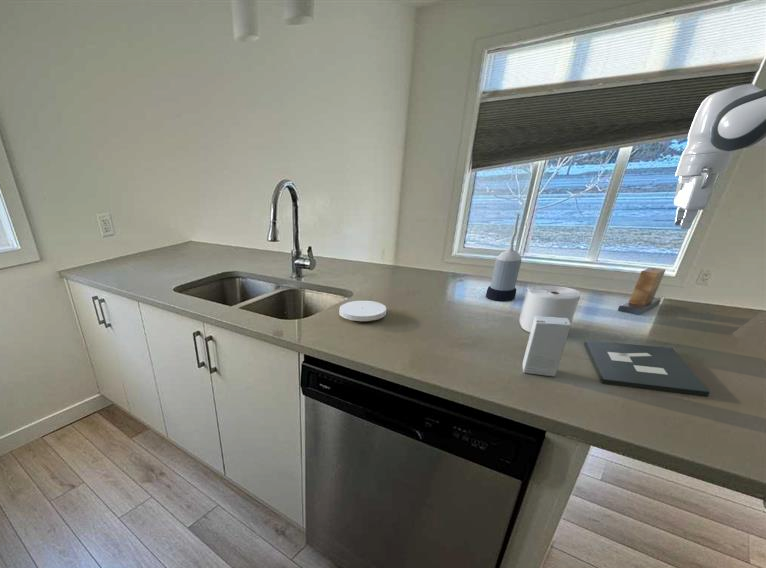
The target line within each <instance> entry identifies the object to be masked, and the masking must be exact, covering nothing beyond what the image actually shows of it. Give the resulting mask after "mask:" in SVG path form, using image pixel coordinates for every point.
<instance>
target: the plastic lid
mask: <svg viewBox="0 0 766 568" xmlns="http://www.w3.org/2000/svg"><path fill="white" fill-rule="evenodd" d="M338 314H339V316H340V317H342V318H344V319H346V320H349V321H355V322H371V321H376V320H380V319H382V318H384V317H385V316H386V315H387V306H386V305H385V304H383V303H381V302H378V301H373V300H354V301H353V300H352V301H347V302H345V303H343V304H341V305H340V306H339V311H338Z"/></svg>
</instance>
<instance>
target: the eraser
mask: <svg viewBox="0 0 766 568" xmlns="http://www.w3.org/2000/svg"><path fill="white" fill-rule="evenodd" d="M665 273H666V268H657V267H650V266H649V267H647V268H646V269H642V270H641V271H640V274H639V277H638V279H637V281H636V284H635V285H634V289H633V291H632V294H631V296H630V298H629V300H627V301H626V302H623V303H622V304H620V305H619V306H618V308H617V311H618V312H624V313H628V314H632V315H637V316H641V315H642V314H645V313H646V312H648V311H650V310H651V309H653V308H654V307H657V306H658V305H660V303H661V299H660V298H655V297H656V294H657V292H658V289H659V287H660V285H661V282H662V280H663V278H664V275H665Z"/></svg>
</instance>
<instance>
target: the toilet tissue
mask: <svg viewBox="0 0 766 568" xmlns="http://www.w3.org/2000/svg"><path fill="white" fill-rule="evenodd" d="M529 287H530V284H528V285H527V287H526V292H525V296H524V300H523V303H522V308H521V312H520V315H519V325H520V328H521V329H522V330H524V331H526V332H528V333H529V334H530V333H531V329H532V324H533V321H534V317H535V316H542V317H556V318H568V319H569V322H570V324H571V325H572V323H573V320H574V316H575V313H576V311H577V308H578V305H579V301H580V299H581V295H582V294H581V292H580V291H578V290H577V289H574V288H570V287H567V286H559V285H558V286H557V285H539V286H534V287H531V288H529Z"/></svg>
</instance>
